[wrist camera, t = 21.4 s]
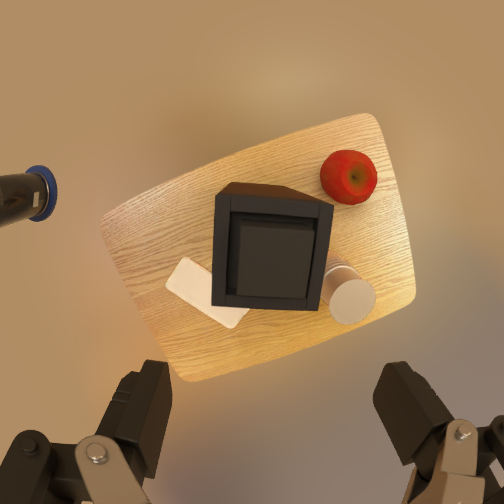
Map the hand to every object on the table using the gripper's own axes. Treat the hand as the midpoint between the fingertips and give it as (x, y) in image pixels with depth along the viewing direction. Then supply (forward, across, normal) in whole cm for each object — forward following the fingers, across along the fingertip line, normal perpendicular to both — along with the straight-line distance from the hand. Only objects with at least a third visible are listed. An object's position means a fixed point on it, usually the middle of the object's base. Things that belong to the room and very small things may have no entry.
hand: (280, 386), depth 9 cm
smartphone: (+39, +6, +14) cm, 42 cm away
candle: (+39, -14, +8) cm, 42 cm away
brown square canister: (+39, -1, -1) cm, 39 cm away
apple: (+39, -14, -8) cm, 42 cm away
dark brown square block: (+14, -1, -1) cm, 14 cm away
